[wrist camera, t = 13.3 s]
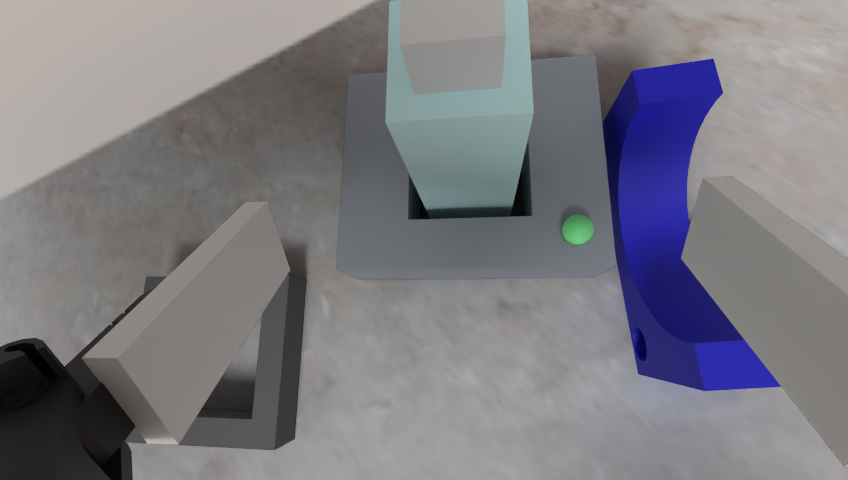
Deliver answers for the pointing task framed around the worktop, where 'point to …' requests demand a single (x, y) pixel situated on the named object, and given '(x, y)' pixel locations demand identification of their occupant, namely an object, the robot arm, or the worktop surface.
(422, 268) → the block
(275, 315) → the frame
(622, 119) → the cable clip
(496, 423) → the worktop surface
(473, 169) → the capped teal pillar
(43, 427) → the robot arm
